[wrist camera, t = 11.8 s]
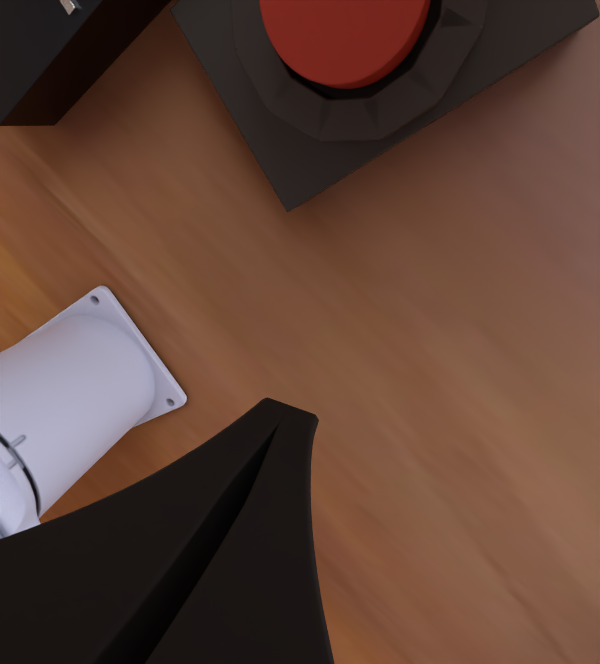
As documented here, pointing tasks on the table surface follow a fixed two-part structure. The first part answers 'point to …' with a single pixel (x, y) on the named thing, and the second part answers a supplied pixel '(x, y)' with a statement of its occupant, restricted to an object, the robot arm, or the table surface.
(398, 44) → the lamp switch
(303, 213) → the table surface
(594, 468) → the table surface
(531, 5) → the switch box
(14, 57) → the dimmer panel
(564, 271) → the table surface
